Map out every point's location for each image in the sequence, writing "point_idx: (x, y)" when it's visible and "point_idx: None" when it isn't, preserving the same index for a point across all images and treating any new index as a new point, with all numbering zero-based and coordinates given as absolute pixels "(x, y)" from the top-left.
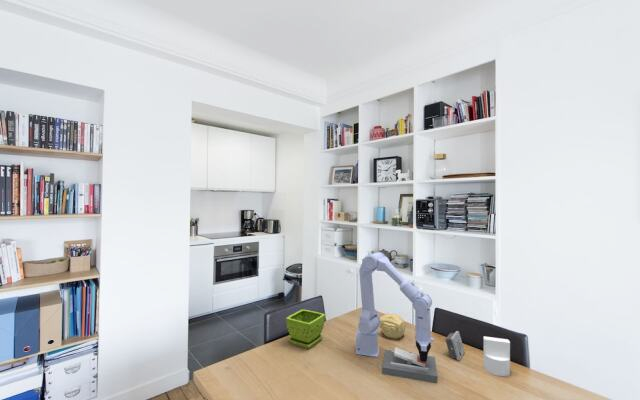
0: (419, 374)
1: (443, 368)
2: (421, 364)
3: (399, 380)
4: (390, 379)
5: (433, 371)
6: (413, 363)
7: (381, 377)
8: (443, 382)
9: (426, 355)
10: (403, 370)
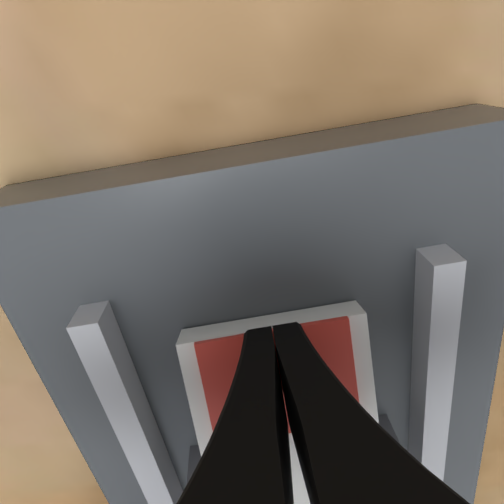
0: (495, 320)
1: (76, 52)
2: (366, 355)
3: (498, 411)
4: (496, 457)
5: (417, 184)
6: None
7: (483, 499)
8: (443, 26)
9: (339, 404)
10: (477, 452)
